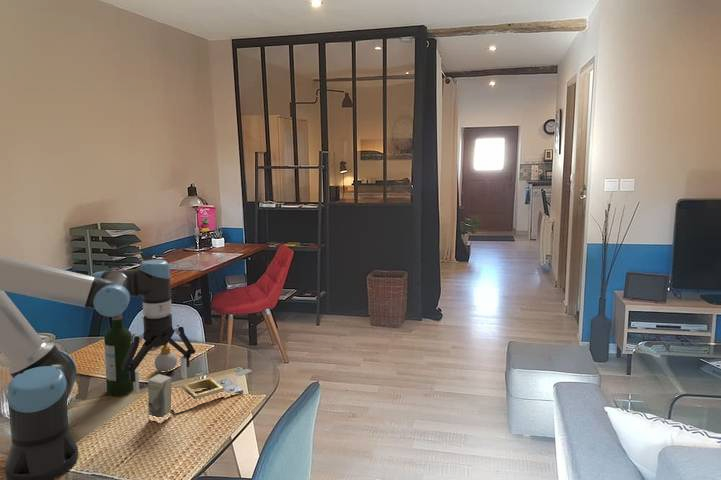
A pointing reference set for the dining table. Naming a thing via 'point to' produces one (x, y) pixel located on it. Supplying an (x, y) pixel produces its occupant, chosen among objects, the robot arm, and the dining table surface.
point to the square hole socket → (211, 387)
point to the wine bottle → (117, 358)
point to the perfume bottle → (165, 358)
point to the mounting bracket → (242, 371)
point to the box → (159, 395)
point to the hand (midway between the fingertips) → (161, 384)
